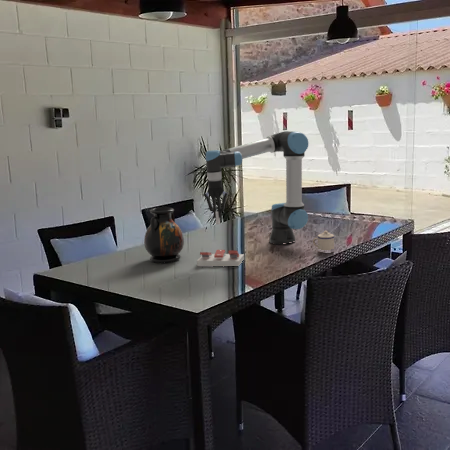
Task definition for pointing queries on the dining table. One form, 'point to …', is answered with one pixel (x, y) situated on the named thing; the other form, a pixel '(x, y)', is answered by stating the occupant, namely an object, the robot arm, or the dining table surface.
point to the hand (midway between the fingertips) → (218, 223)
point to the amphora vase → (163, 237)
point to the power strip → (220, 260)
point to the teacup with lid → (325, 241)
